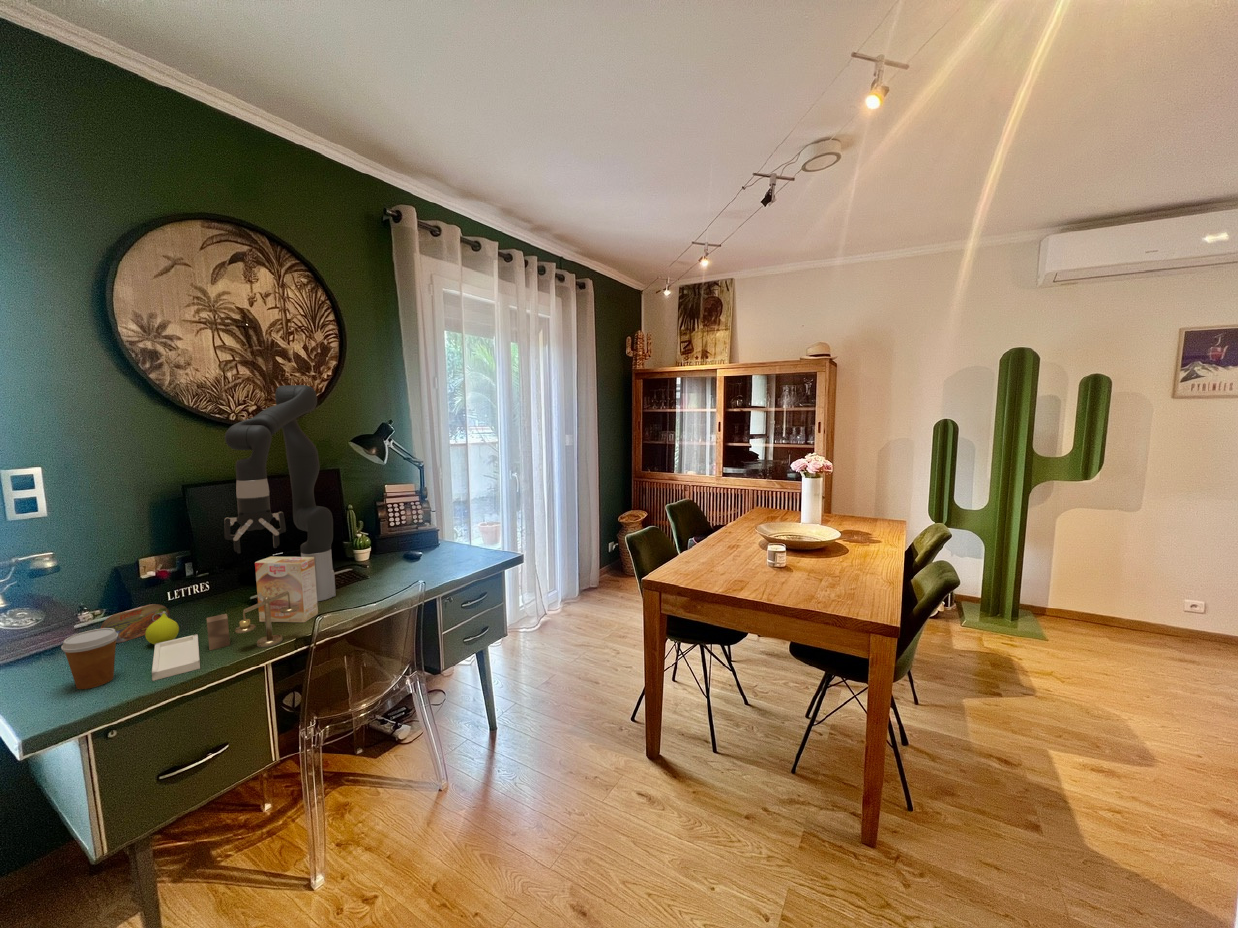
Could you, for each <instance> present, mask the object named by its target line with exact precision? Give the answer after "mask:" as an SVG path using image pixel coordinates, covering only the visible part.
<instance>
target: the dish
mask: <svg viewBox="0 0 1238 928" xmlns="http://www.w3.org/2000/svg"><path fill="white" fill-rule="evenodd" d="M151 667H152V668H151V680H152V682H154V681H157V680H161V679H164V678H165V679H166V678H169V677H173V676H177V675H181V674H184V673H188V672H192V671H195V670H200V669H201V660H200V648H199V636H198V633H197V634H192V635H187V636H184V637H179V638H174V639H173V640H170V641H165V642H161V643H156V644H154V651H153V658H152V666H151Z"/></svg>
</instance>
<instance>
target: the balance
mask: <svg viewBox="0 0 1238 928" xmlns="http://www.w3.org/2000/svg"><path fill="white" fill-rule="evenodd" d="M286 595H288V603H289V606H286V607H283V608H281V609H280V612H281V613H291V612H294V611H297V610H298V609H299V606H298V605H290V594H289V592H288V591H286V592H284V593H282V594H279V595H277V596H274V597H272V598H269V597H265V598H264V599H263V602H260V603H258V602H257V603H256V604H253V605H251V606H249V607H246V608H244V609H243V612H242V616H243V619H242V620H239V623H238V624H239V626H238V627H235V629H234V632H235V634H245V633H249V632H253V631H254V630H256V624H254V623H251V619H250V618H246V613H249V612H251V611H253V610H256V609H259V608H258V607H261V606H263V605H264V611H265V622H264V624H265V635H266V636H264V637H261V638H259V639H258V640H257V641H256V646H257V648H261V649H262V648H270V647H274V646H277V645H279V644H280V643H282V642H283V635H281V634H273V626H272V623H273V622H271V610H270V602H272V601H275V600H277V599H279V598H282V597H284V596H286Z"/></svg>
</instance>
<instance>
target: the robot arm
mask: <svg viewBox="0 0 1238 928" xmlns="http://www.w3.org/2000/svg"><path fill="white" fill-rule="evenodd" d="M274 396H275V397H274V398H275V399H274V400H275V405H271V406H269V407H267V408H264V409H263V410H261V411H260V412H259V413H257V414H255V415H254V416H253V417H251V418H248V419H244V420H242V421H240V422H236V423H235V424H233V425H231V426H230V427H229V428H228V429H227V430H226V432H225V434H224V441H225V443H226V445H227V446H228V447H229V448H231V449H232V450H237V451H252V452H251V454H250V456H249V457H246V458H241V459H237V460H236V462H235V475H236V486H235V487H236V489H235V490H236V493H235V494H236V495H235V496H236V501H237V517H228V516H227V517H225V518H224V539H225V540H228V541H233V551H234V552H236V553H237V554H241V553H242V552H241V541H240V538H241V537H242V535H243V534H245V532H246V531H249V532H253V531H255V530H259V531H261V530H264V529H267V530H268V531H269V532H271V533H272V544H273V548H274V549H278V547H279V546H280V545H281V543H280V535H282V534H283V533H286V532H287V526H286V521H285V514H284V512H283V511H278V512H274V513H272V511H271V501H270V499H271V498H270V487H269V482H268V473H267V472H268V471H267V463H268V462H267V461H268V457H269V452H270V448H271V444H272V439H273V438H272V437H273V436H274V435H275V434H276V433H277V432H278V431H280V430H282V433H283V440H284V445H285V446H284V447H285V453H286V460H287V461H286V462H287V467H288V468H287V469H288V473H289V477H290V479H289V480H290V488H291V494H292V519H293V523H294V525H295V527H296V528H297V529H298V530H300V531H302V532H307V539H306V541H305V542H303V543H302V544H300V557H314V563H315V577H316V592H317V602H323V601H326V600H329V599H331V598H334V597H336V579H335V570H334V568H333V558H332V556H333V555H332V543H333V540H334V518H333V513H332V511H331V510H330V509H329V508H328V507H325V506H319V505H316V501H315V493H314V491H315V485H316V482H317V479H318V477H319V473H320V459H319V458H320V457H319V452H318V449H317V447H316V445H315V443H313V441H312V440H311V439H310V438H309V437H308V436H307V434H306V433H304V431H303V430H302V428H301V427H300V424H299V422H298V420H297V419H298V418H300V417H301V416H303V415H305V414H307V413H308V414H309V413H310V412H312V411H314V409H315V408H316V407H317V405H318V396H317V392H316V390H315V389H314V388H313V387H312V386H310V385H305V384H294V385H293V384H291V385H290V384H289V385H279V386H278V387H276V390H275V393H274ZM273 518H275V520H276V521H278V522H279V523H278V524H279V528H275V527H274V526H273V525H272V524H271V523H270V522H271V521H272V520H273ZM235 522H237V523H238V524H239V525H240V527H239V528H238V529H237V530H236V532H235V534H231V526H233V525H235Z"/></svg>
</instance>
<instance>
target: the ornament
mask: <svg viewBox="0 0 1238 928" xmlns="http://www.w3.org/2000/svg"><path fill="white" fill-rule="evenodd" d="M165 612H166V611H163V614H162V616H161V617H160V618H159V619H158V620H156V621H155V622H153V623H152V624H151V625H150V626H149V627H148V628H147V630H146V633H145V635H144V636H145V640H146V641H147V642H149V644H152V645H155V644H156V643H161V642H165V641H170V640H174V639H176V637H177V636H178V635H179V631H180V627H179V624H178V622H176V621H175V620H173V619H172V618H168V617H167V616H166V614H165Z"/></svg>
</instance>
